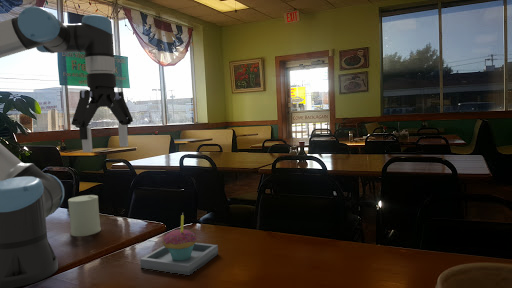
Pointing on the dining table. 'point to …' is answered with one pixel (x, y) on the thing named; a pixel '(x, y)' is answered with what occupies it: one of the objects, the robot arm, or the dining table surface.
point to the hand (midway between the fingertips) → (106, 149)
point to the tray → (164, 260)
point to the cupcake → (180, 242)
